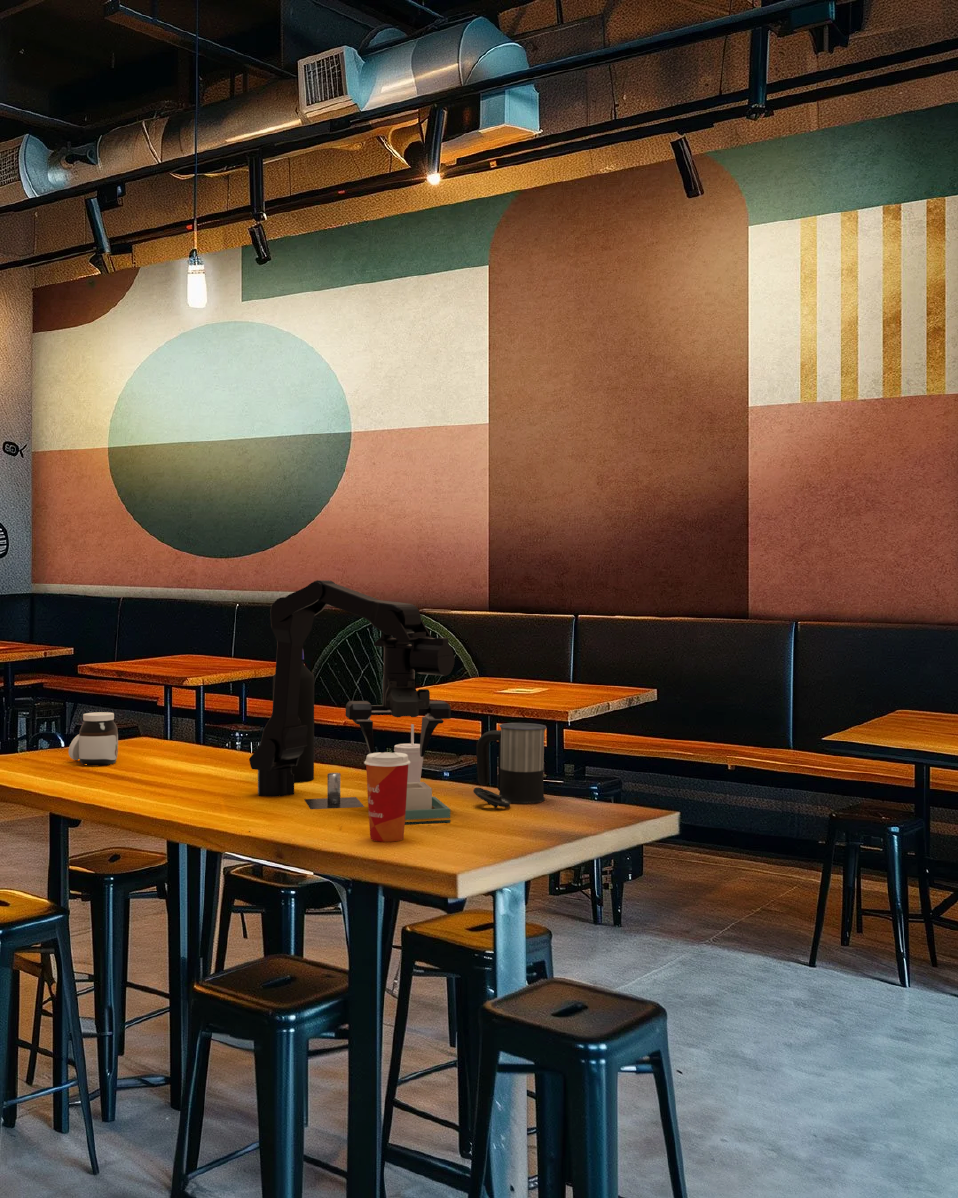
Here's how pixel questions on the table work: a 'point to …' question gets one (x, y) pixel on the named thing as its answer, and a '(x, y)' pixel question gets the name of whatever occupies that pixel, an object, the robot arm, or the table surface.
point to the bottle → (306, 717)
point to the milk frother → (513, 764)
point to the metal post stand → (333, 796)
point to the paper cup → (387, 795)
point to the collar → (418, 796)
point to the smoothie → (412, 758)
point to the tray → (429, 814)
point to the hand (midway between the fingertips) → (397, 757)
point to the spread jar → (96, 740)
